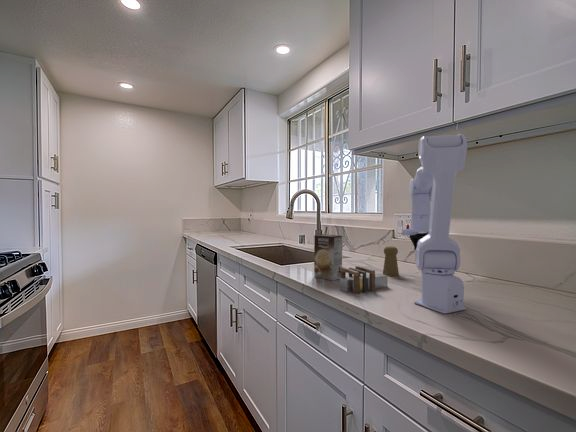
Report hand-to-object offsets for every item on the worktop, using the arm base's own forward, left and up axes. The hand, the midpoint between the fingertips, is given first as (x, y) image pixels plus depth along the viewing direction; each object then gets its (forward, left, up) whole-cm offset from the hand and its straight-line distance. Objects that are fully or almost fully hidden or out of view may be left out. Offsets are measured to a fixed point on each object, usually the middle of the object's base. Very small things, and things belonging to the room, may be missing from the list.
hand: (420, 256), depth 96 cm
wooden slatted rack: (+6, +21, -10) cm, 24 cm away
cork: (+18, -4, -10) cm, 21 cm away
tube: (+6, +18, -10) cm, 22 cm away
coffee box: (+24, +21, -10) cm, 33 cm away
